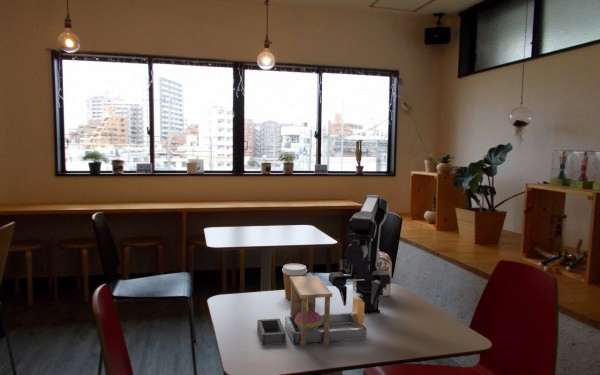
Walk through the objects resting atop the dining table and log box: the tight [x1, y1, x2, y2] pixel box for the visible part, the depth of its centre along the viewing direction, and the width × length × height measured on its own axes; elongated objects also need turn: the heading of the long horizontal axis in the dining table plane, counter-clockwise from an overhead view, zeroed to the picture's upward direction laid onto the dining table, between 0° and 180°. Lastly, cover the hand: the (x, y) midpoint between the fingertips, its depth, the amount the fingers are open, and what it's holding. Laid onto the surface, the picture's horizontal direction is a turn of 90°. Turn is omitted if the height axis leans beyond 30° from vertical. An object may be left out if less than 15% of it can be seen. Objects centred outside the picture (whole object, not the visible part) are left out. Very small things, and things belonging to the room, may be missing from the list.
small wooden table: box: [289, 275, 333, 348], centre depth 132 cm, size 9×17×16 cm, turn 12°
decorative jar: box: [352, 248, 393, 298], centre depth 172 cm, size 12×12×18 cm
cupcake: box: [295, 298, 323, 332], centre depth 132 cm, size 9×8×12 cm
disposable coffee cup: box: [281, 263, 308, 301], centre depth 164 cm, size 10×10×12 cm
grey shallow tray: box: [284, 296, 368, 344], centre depth 133 cm, size 23×13×10 cm, turn 102°
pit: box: [256, 318, 287, 346], centre depth 130 cm, size 7×11×3 cm, turn 12°
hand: (358, 304), depth 135 cm, fingers open, 9 cm apart
